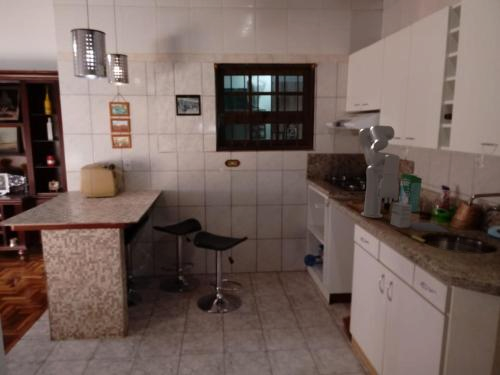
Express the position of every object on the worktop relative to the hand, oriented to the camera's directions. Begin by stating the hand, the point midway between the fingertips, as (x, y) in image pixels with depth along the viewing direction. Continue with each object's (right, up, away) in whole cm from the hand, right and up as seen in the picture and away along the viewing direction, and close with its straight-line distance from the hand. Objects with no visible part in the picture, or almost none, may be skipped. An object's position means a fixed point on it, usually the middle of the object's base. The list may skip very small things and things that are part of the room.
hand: (386, 209), depth 201 cm
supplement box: (+8, -9, +1) cm, 12 cm away
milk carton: (+32, -3, +46) cm, 56 cm away
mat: (+22, -10, +1) cm, 24 cm away
